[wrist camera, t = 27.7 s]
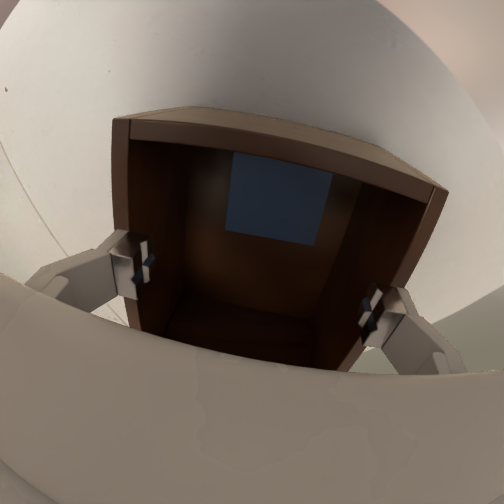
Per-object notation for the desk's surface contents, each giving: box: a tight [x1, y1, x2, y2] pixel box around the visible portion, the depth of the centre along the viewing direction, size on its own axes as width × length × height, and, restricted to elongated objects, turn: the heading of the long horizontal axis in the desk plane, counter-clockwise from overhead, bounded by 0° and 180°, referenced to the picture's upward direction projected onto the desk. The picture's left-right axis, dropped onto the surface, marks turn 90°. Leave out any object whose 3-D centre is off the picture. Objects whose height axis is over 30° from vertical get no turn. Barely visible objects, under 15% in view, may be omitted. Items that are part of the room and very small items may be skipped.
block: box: [225, 152, 333, 246], centre depth 14 cm, size 5×5×5 cm
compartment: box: [111, 106, 449, 372], centre depth 16 cm, size 16×13×9 cm
